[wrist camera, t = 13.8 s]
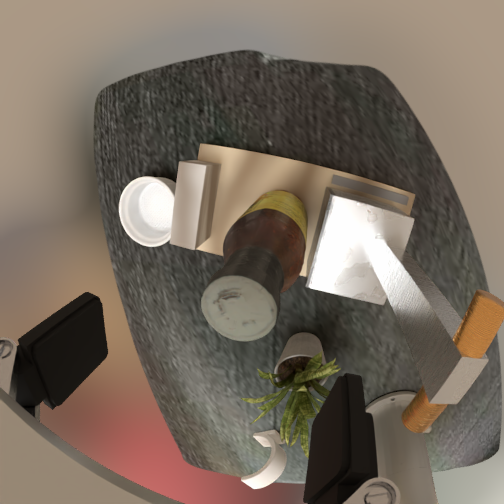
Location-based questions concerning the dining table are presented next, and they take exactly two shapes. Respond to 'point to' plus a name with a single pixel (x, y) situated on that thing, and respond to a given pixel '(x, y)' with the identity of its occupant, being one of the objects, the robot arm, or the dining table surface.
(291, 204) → the sauce bottle
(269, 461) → the white curved arc piece
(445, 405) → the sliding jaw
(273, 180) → the clamp base
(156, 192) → the ramekin
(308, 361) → the house plant
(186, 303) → the dining table surface
